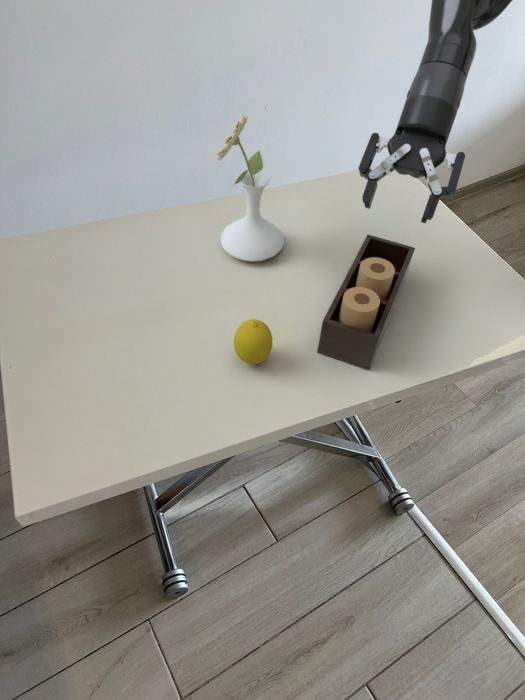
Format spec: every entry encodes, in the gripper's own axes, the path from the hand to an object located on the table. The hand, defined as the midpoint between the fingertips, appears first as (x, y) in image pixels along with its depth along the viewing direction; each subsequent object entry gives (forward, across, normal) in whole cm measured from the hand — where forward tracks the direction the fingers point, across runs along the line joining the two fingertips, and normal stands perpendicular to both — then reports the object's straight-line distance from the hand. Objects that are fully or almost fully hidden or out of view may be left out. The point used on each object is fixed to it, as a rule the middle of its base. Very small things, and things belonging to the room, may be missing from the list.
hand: (394, 214), depth 78 cm
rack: (+15, 0, -7) cm, 17 cm away
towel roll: (+14, 0, -6) cm, 16 cm away
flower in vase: (+10, +24, -12) cm, 29 cm away
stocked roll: (+20, 0, -2) cm, 20 cm away
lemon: (+27, +12, +5) cm, 30 cm away
